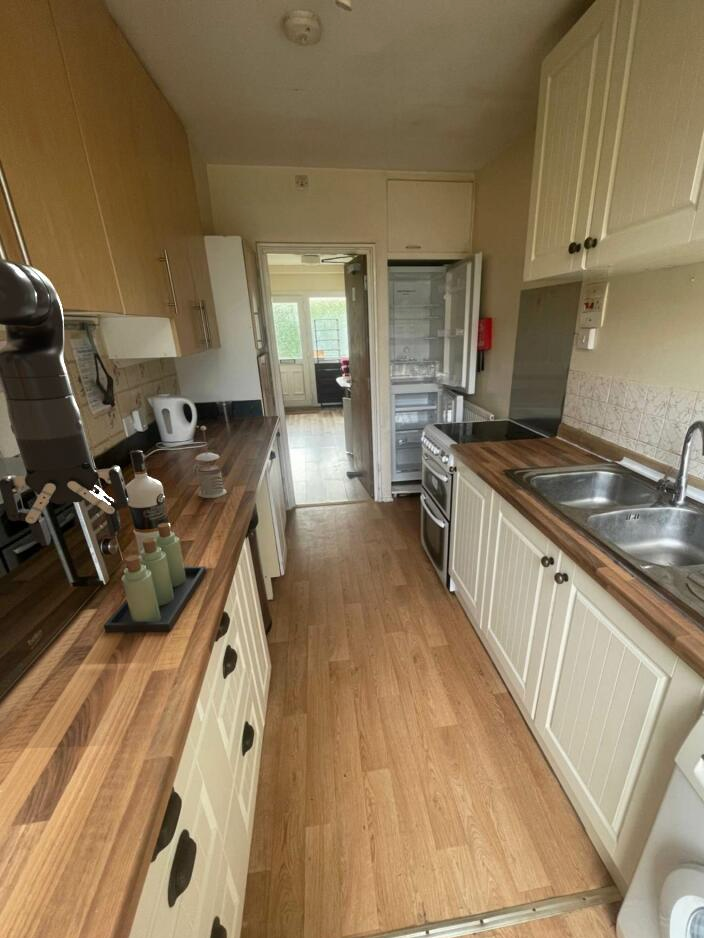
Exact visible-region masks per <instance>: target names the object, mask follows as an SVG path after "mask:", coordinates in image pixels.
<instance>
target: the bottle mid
mask: <svg viewBox="0 0 704 938" xmlns="http://www.w3.org/2000/svg"><path fill="white" fill-rule="evenodd" d="M142 542H143V547H144V549H143V550H142V551H141V556H140V557H139V558H140V562H141V564H142V565H145V566H146V569H148V570H150V571H151V574H152V579H153V583H154V588H155V592H156V597H157V601H158V606H161V605H165V604H167V603H169V602H171V601H172V600H173V599H174V593H173V588H172V583H171V578H170V573H169V568H168V563H167V558H166V554H165V552H162V551H161V548H160V547H157V546H156V541H155V538H146V539H144V540H143V541H142Z"/></svg>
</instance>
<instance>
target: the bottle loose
mask: <svg viewBox="0 0 704 938" xmlns="http://www.w3.org/2000/svg"><path fill="white" fill-rule="evenodd" d="M124 561H125V565H126V567H125V569H124V570H123V573H124V574H123V575H122V577H121V583H122V587H123V591H124V595H125V600H126V599H127V603H128V607H129V611H130V615H131V618H132V622H159V621H160V619H161V615H160V610H159V606H158V601H157V597H156V592H155V588H154V583H153V579H152V574H151V571H150V570H148V569H146V566H145V565H142V564H141V562H140V558H139V556H138V554H132V555H128V556H127V557H125V559H124Z"/></svg>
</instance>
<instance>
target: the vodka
mask: <svg viewBox="0 0 704 938" xmlns="http://www.w3.org/2000/svg"><path fill="white" fill-rule="evenodd" d="M129 454H130V459H131V460H130V461H131V464H132V469H133V473H134V478H133V479H131V481H129V482H128V483H127V484H125V486H126V489H127V492H128V495H129V503H128V509H129V513H130V518H131V522H132V525H133V526H132V527H133V534H134V536H135V540H136V541H135V542H136V546H137V555H138V556H139V557H140V556H141V551H142V550H143V549H144V547H143V542H142V541H143V540H144V539H146V538H155V540H157V538H156V536H157V534H159V531H158V525H159V524H161V523H169V526H170V527H171V523H170V521H169V516H168V510H167V504H166V500H165V499H166V496H165V494H164V493H165V492H164V486H163V483H162V482H161V481H159V480H158V479H156V478H153V477H151V476H148V473H147V469H146V468H147V467H146V463H145V458H144V454H143V451H142V450H140V449H136V450H131V451H130V452H129ZM170 531H171V529H170ZM171 532H172V531H171Z"/></svg>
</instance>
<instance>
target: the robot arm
mask: <svg viewBox="0 0 704 938" xmlns="http://www.w3.org/2000/svg"><path fill="white" fill-rule="evenodd" d="M0 326H4V329H5V339H6V340H5V341H6V342H5V345H4V346H3V347H1V348H0V386H1V389H2V392H3V395H4V398H5V403H6V408H7V415H8V419H9V422H10V429H11V432H12V434H13V435H14V439H15V441H16V444H17V447H18V450H19V454H20V456H21V460H22V463H23V466H24V468H25V469H24V470H25V472H26V474H25V475H20V476H19V475H18V476H16V475H14V474H11V473H10V474H9V473H8V474H6V475H5V476H3V477H2V478H1V479H0V493H1V497H2V501H3V505H4V509H5V512H6V517H7V519H8V520H9V521H11V522H17V521H21V522H26V523H27V524H28V525H29V528H30V531H31V534H32V537H33V540H34V542H35V543H36V544H39V543H40V546H41V547H44V546H45V547H47V546H49V545H50V544H51V541H52V536H51V533H50V530H49V527H48V525H47V521H46V518H45V516H42V514H43V512H44V510H45V509H46V507H47V505H48V504H49V503H52V504H55V505H63V504H66V503H82V502H83V501H85V500H86V501H87V502H89V503H90V504H91V505H93V506H97V507H98V508H99V509H101V510H102V511H104V512H105V514H104V516H105V520H106V523H107V528H108V532H109V536H110V537H117V536H118V533H120V531H121V527H122V523H121V518H120V514H119V510H121V509H126V508H127V507H129V505H128V503H129V495H128V492H127V489H126V483H125V478H124V476H123V473H122V469H121V467H120V466H119V465H116V464H113V465H112V466H111V467H110V468H102V469H98V468H97V467H96V466H95V464H94V462H93V458H92V455H91V452H90V448H89V443H88V440H87V435H86V432H85V428H84V424H83V419H82V416H81V413H80V409H79V407H78V404H77V402H76V399H75V397H74V394H73V390H72V386H71V382H70V378H69V374H68V370H67V367H66V365H65V359H64V355H65V354H64V353H65V327H64V326H65V325H64V312H63V308H62V303H61V300H60V297H59V294H58V292H57V289H56V288H55V286H54V284H53V283H52V282H51V280H50V279H49V278H48V277H47V276H46V275H45V273H43V272H41V271H40V270H39V269H38V268H36V267H34V266H31V265H30V264H26V263H23V262H19V261H14V260H9V259H4V258H0ZM100 478H101V479H103V480H104V481H105V483H106V484H108V485H111V486H112V490H113V493H114V495H115V499H113V498H112V497H110V496H108V495H107V494H106V493H105V491H104V490H103V489H102V488H100V487H99V486H98V485H96V484H97V482H98V480H99V479H100ZM24 486H27V487H28V488H29V489H31V490H32V491H33V492H35V493H36V494H38V496H37V498H36V499H35V501H34V503H33V505H32V506H31V508H30V509H28V508H25V507H24V504H23V499H22V495H21V492H22V491H23V490H24Z"/></svg>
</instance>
